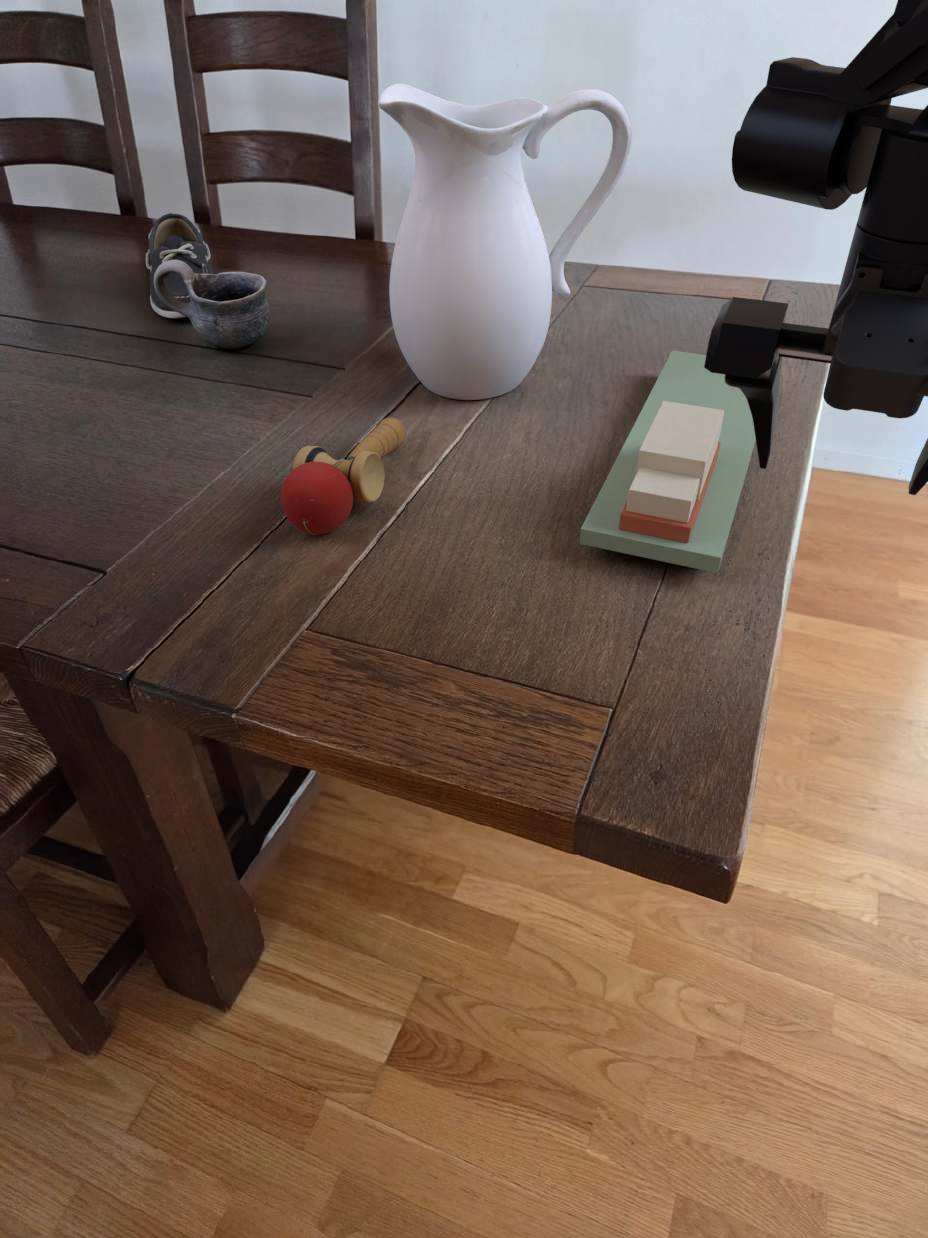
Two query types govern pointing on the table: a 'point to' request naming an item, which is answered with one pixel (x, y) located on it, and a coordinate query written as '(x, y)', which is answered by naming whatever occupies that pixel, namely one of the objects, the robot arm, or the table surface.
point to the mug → (219, 304)
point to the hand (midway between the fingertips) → (835, 478)
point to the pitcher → (482, 237)
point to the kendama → (337, 480)
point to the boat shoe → (175, 257)
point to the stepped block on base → (673, 471)
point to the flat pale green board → (711, 530)
